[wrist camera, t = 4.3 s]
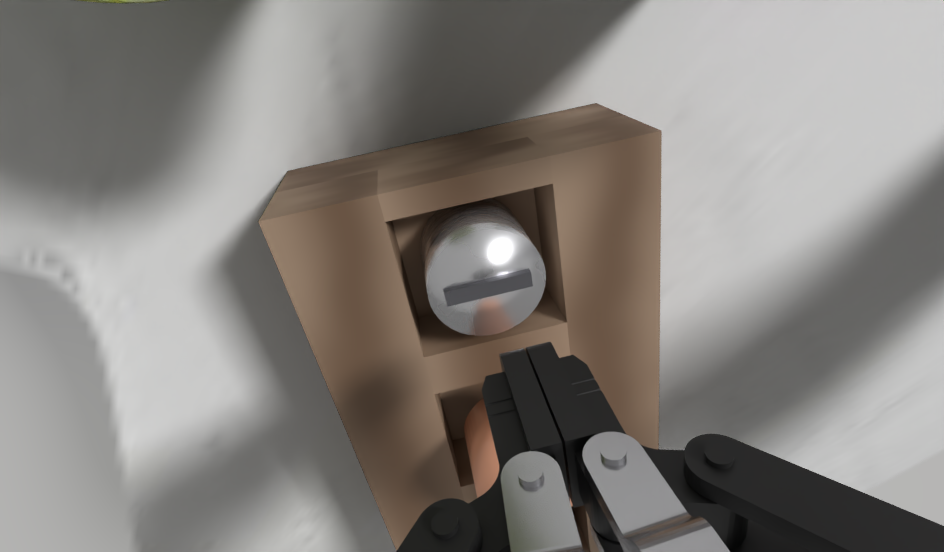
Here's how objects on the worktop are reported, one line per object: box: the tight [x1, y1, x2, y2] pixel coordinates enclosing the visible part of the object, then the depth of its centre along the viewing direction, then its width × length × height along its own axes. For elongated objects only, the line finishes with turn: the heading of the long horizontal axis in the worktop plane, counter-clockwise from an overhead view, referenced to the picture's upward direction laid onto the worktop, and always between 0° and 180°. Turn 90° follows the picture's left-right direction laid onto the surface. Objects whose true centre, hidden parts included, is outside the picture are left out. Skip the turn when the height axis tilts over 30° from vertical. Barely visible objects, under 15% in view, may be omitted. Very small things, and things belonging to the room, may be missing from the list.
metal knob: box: [420, 198, 546, 336], centre depth 20 cm, size 4×4×4 cm
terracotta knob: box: [464, 399, 573, 506], centre depth 21 cm, size 4×4×4 cm
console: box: [258, 103, 661, 552], centre depth 25 cm, size 14×24×6 cm, turn 10°
